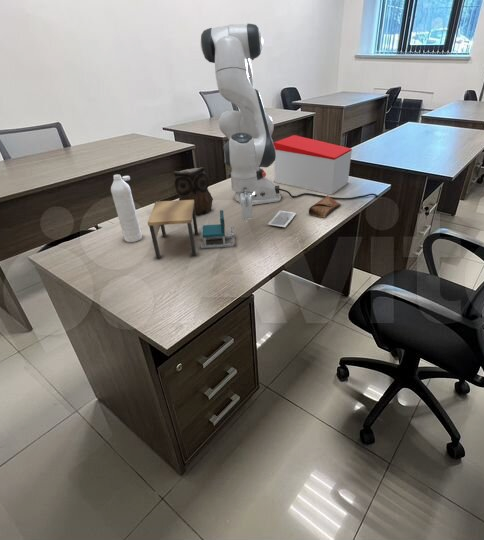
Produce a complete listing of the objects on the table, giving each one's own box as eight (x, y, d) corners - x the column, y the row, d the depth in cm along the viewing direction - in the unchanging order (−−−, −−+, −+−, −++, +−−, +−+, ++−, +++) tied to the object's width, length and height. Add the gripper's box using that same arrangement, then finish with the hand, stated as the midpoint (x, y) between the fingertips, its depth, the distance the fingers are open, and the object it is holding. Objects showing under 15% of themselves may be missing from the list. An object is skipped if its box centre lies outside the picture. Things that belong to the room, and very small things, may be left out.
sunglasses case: (325, 217, 148) (319, 203, 146) (312, 222, 153) (306, 208, 151) (342, 204, 161) (336, 190, 159) (329, 208, 165) (324, 195, 164)
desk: (198, 233, 137) (194, 199, 129) (196, 256, 122) (190, 219, 114) (162, 235, 135) (155, 201, 127) (156, 259, 120) (147, 222, 112)
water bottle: (120, 240, 132) (102, 176, 118) (133, 233, 136) (117, 171, 123) (137, 245, 128) (120, 180, 115) (150, 237, 133) (135, 174, 120)
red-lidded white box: (292, 171, 203) (293, 134, 191) (347, 182, 187) (352, 143, 175) (273, 181, 188) (273, 142, 176) (331, 194, 172) (335, 152, 161)
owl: (215, 209, 156) (210, 165, 145) (199, 220, 146) (192, 174, 135) (192, 205, 160) (185, 162, 149) (175, 215, 151) (167, 170, 140)
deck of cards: (296, 215, 151) (296, 210, 150) (285, 229, 140) (285, 224, 138) (279, 212, 154) (279, 208, 152) (267, 226, 142) (267, 221, 141)
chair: (234, 236, 134) (232, 209, 128) (235, 246, 128) (233, 218, 122) (202, 238, 133) (198, 211, 126) (201, 248, 126) (197, 220, 120)
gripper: (255, 193, 111) (257, 231, 119) (251, 174, 128) (252, 208, 136) (236, 194, 110) (238, 233, 118) (234, 175, 127) (236, 209, 135)
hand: (246, 219), depth 127 cm, fingers closed
